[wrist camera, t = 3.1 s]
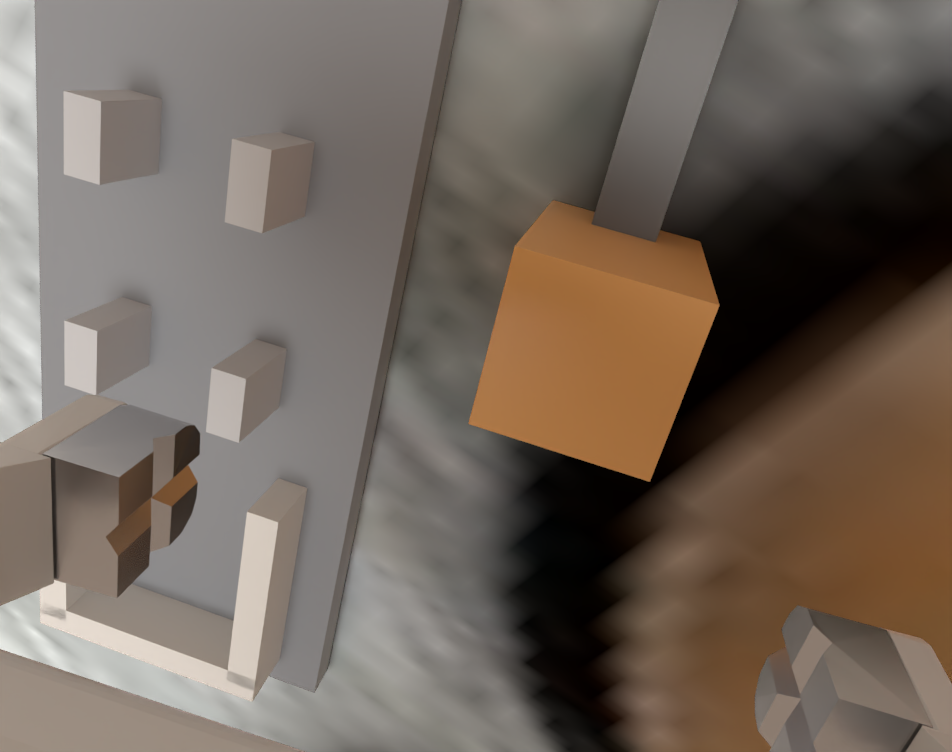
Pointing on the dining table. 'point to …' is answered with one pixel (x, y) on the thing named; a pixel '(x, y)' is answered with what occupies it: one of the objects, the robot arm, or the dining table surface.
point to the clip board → (234, 290)
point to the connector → (613, 279)
